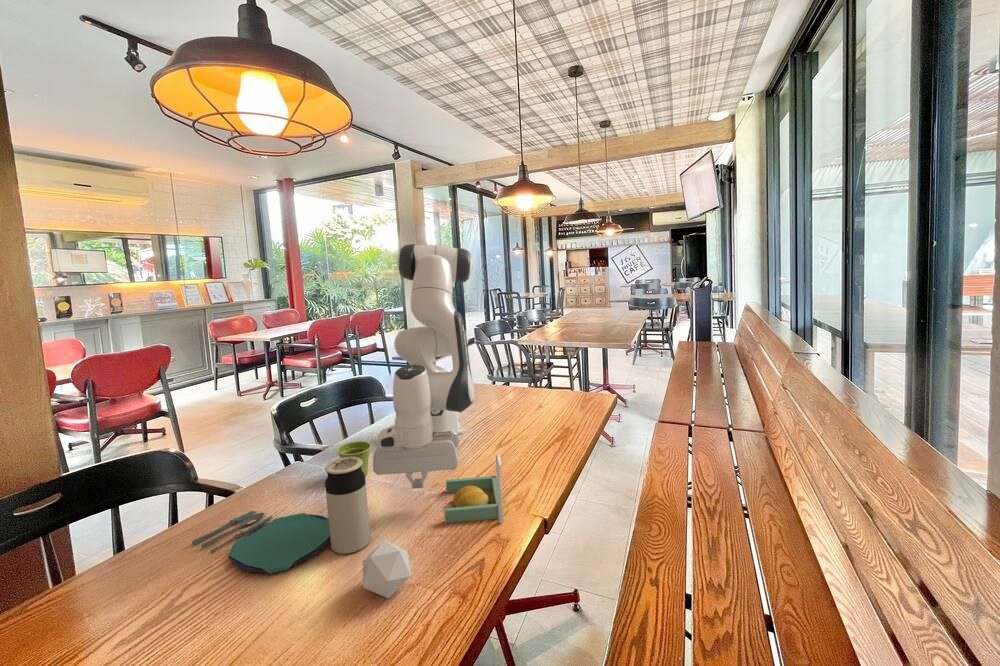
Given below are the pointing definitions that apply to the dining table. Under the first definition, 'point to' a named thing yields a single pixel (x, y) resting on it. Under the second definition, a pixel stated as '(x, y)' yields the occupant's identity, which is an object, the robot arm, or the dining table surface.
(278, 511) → the dining table surface
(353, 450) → the plant pot
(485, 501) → the bread roll
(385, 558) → the die
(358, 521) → the travel mug
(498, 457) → the green pocket
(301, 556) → the cutlery set
